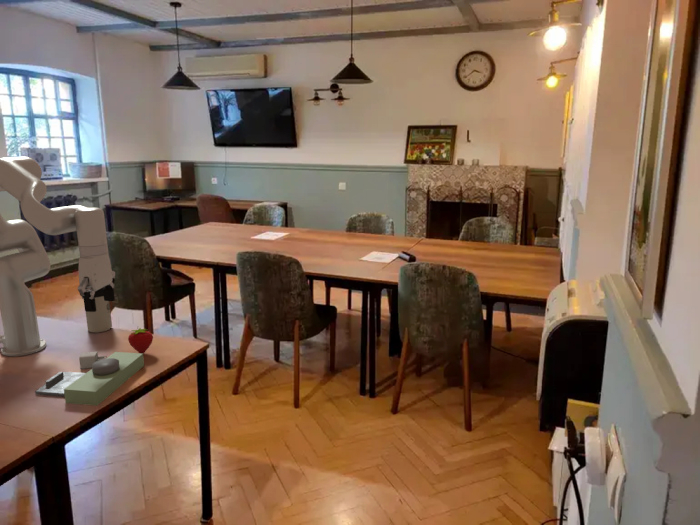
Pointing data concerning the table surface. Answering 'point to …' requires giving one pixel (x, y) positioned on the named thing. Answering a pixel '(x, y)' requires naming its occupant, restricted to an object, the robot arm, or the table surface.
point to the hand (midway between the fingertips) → (100, 305)
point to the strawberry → (140, 340)
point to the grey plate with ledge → (58, 384)
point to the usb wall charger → (89, 359)
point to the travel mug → (99, 314)
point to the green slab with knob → (103, 378)
